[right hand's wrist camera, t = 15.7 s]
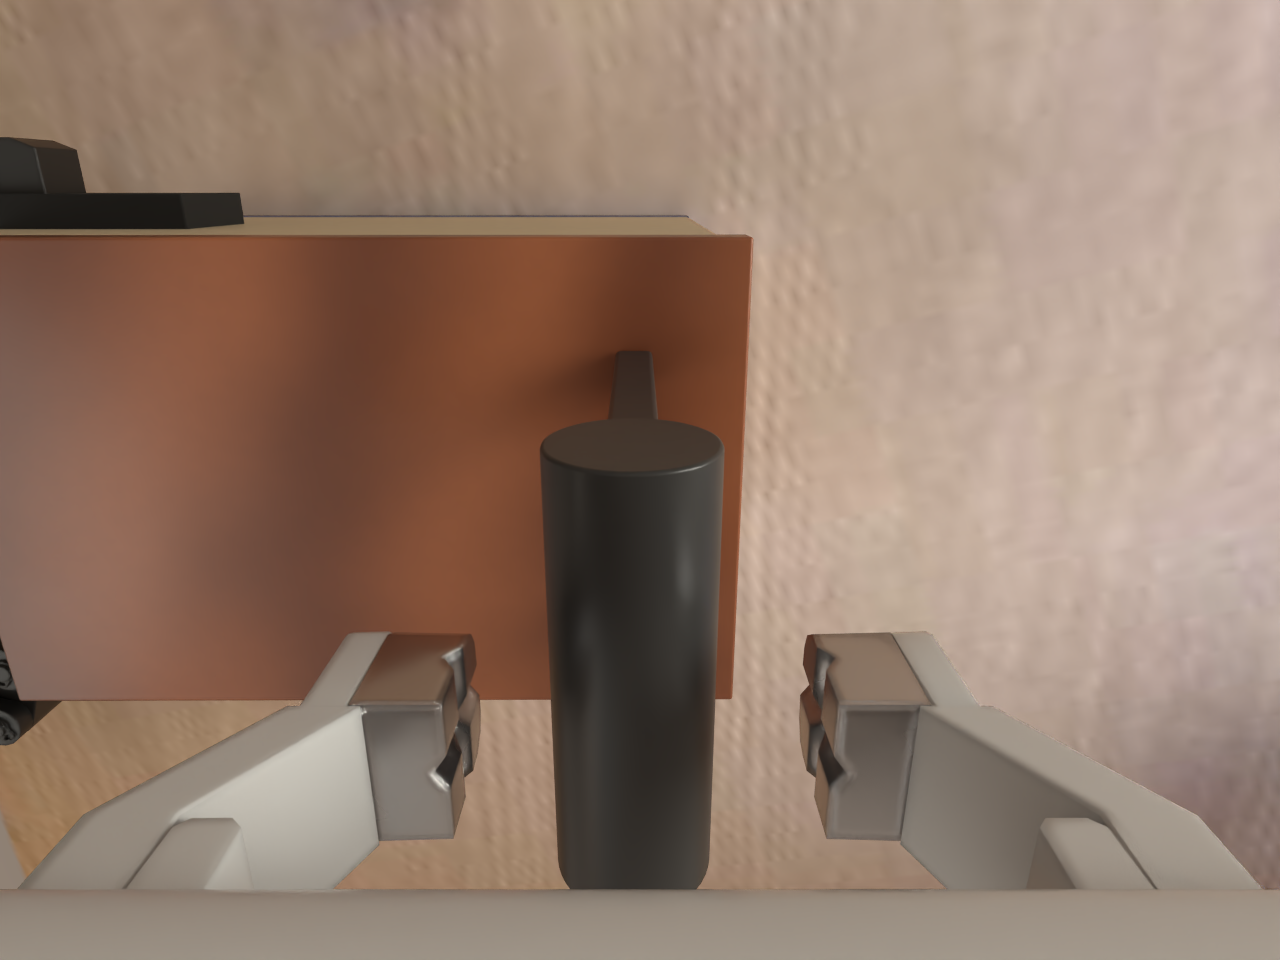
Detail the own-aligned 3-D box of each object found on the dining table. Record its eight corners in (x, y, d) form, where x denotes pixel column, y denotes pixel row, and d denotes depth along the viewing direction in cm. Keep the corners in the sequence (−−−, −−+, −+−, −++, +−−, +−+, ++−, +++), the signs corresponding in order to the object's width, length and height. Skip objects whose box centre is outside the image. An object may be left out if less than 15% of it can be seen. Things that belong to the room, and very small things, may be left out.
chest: (686, 215, 25) (718, 233, 16) (681, 510, 29) (704, 678, 19) (195, 215, 25) (-88, 233, 16) (248, 510, 29) (45, 679, 19)
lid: (747, 234, 16) (860, 282, 8) (728, 679, 19) (792, 1021, 11) (-90, 234, 15) (-829, 284, 8) (44, 680, 19) (-372, 1027, 11)
